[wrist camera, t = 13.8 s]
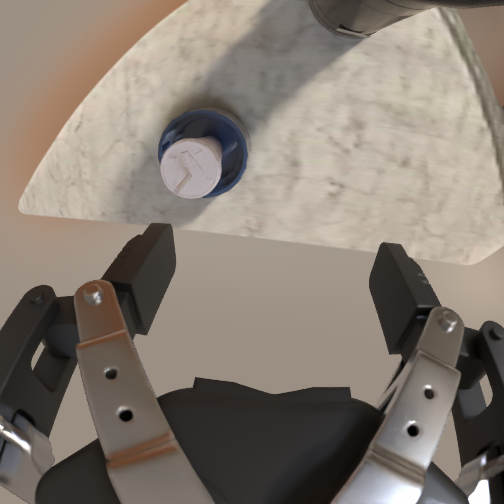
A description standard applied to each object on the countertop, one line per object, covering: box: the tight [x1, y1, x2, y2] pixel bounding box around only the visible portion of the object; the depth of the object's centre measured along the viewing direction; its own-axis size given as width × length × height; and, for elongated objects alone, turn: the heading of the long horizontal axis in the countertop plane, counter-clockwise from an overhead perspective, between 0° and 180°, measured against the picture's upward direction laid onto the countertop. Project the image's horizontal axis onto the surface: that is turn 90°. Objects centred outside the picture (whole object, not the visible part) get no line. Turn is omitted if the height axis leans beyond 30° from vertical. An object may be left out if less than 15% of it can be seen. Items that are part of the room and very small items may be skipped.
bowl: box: [158, 107, 251, 198], centre depth 34 cm, size 11×11×4 cm
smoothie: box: [160, 136, 223, 199], centre depth 30 cm, size 6×6×14 cm
